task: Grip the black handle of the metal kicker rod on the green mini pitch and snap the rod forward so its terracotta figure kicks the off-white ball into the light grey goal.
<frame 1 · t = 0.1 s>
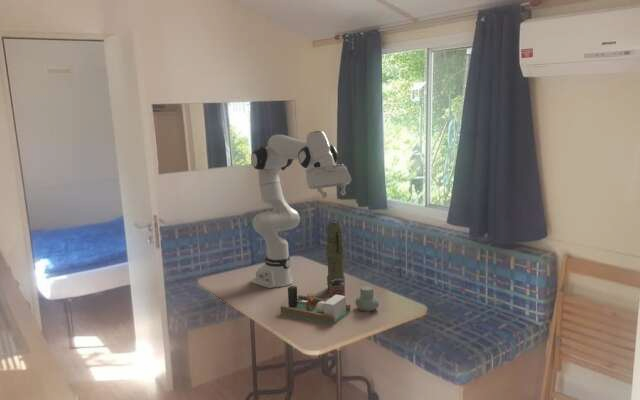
hand: (334, 195, 216), 54 cm above the table, tool tilted 30°, fingers open, 8 cm apart
kicker rod: (300, 298, 234), point 6 cm above the table, slide at 0.0 cm
thermos: (336, 289, 260), on the table
pitch: (315, 312, 231), on the table
ball: (321, 306, 229), point 3 cm above the table, touching pitch
lighter: (337, 299, 247), on the table
air freshener: (367, 309, 234), on the table
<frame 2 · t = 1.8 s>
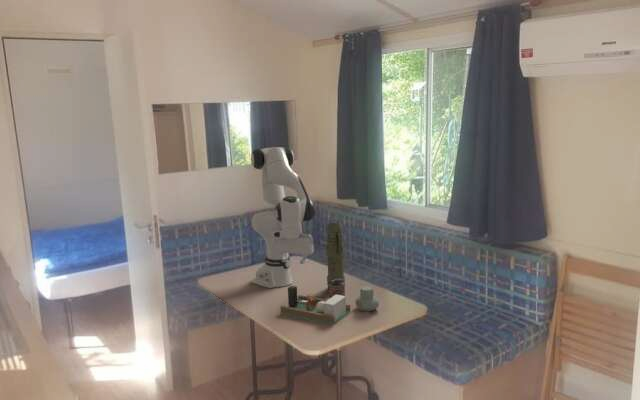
hand: (293, 262, 232), 22 cm above the table, tool pointing down, fingers open, 8 cm apart
nothing on the table moved.
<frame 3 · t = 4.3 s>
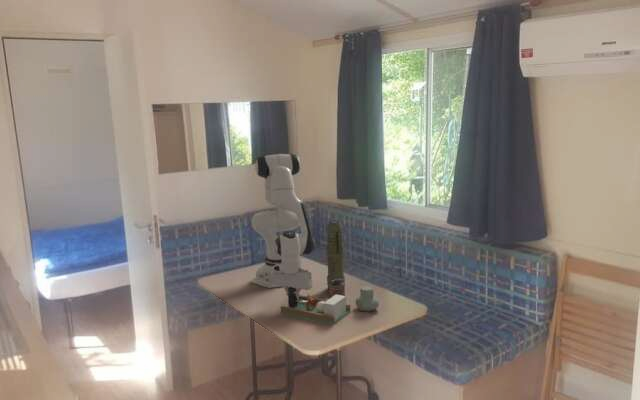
hand: (292, 295, 236), 6 cm above the table, tool pointing down, fingers closed on kicker rod, 3 cm apart
kicker rod: (300, 298, 234), point 6 cm above the table, slide at 0.0 cm, touching gripper
everything else where it was.
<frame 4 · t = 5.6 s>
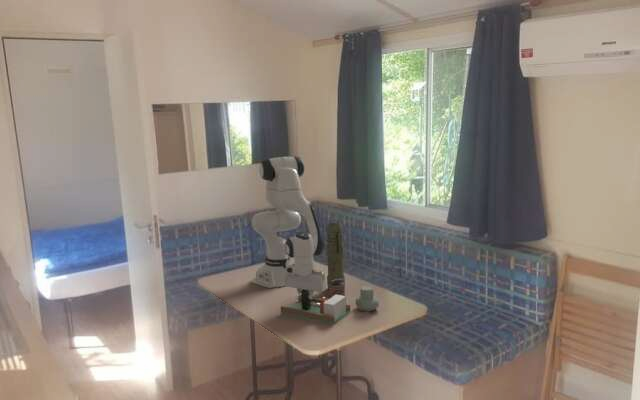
hand: (305, 298, 232), 6 cm above the table, tool pointing down, fingers closed on kicker rod, 3 cm apart
kicker rod: (314, 300, 230), point 6 cm above the table, slide at 7.1 cm, touching gripper
ball: (330, 308, 226), point 3 cm above the table, tilted 99°, touching pitch
everything else where it was.
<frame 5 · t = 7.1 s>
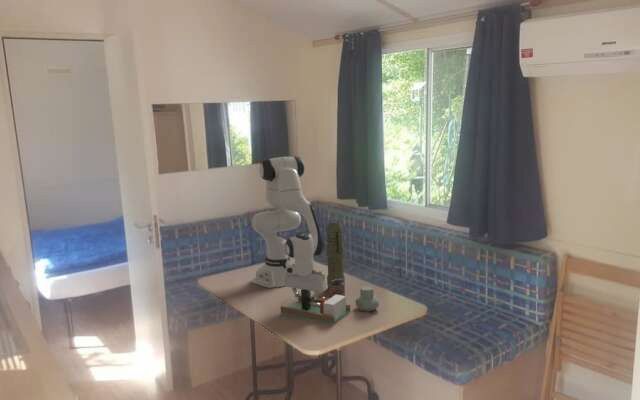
hand: (305, 298, 232), 6 cm above the table, tool pointing down, fingers open, 8 cm apart
kicker rod: (314, 300, 230), point 6 cm above the table, slide at 7.1 cm
ball: (332, 308, 226), point 3 cm above the table, tilted 116°, touching pitch
everything else where it was.
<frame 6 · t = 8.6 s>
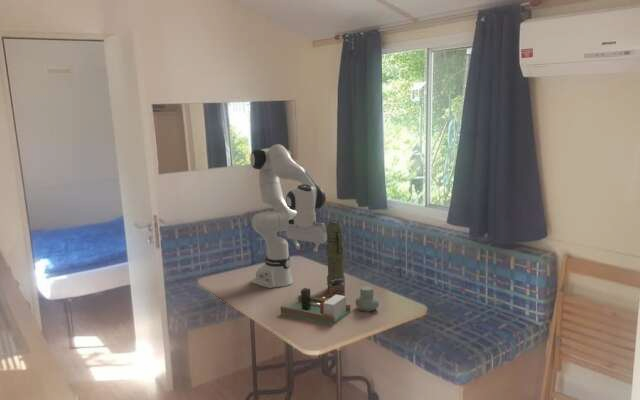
hand: (306, 249, 235), 27 cm above the table, tool pointing down, fingers open, 8 cm apart
ball: (332, 308, 226), point 3 cm above the table, tilted 122°, touching pitch
everything else where it was.
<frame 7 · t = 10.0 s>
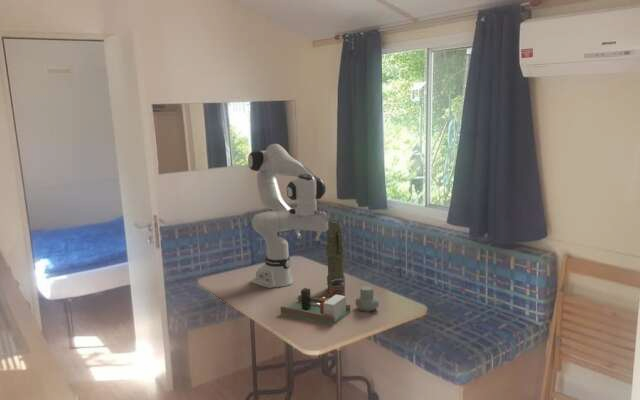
hand: (308, 239, 237), 31 cm above the table, tool pointing down, fingers open, 8 cm apart
nothing on the table moved.
at the end: ball inside the target area (0.3 cm from its centre), point 3.5 cm above the table; kicker rod slide at 7.1 cm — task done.
